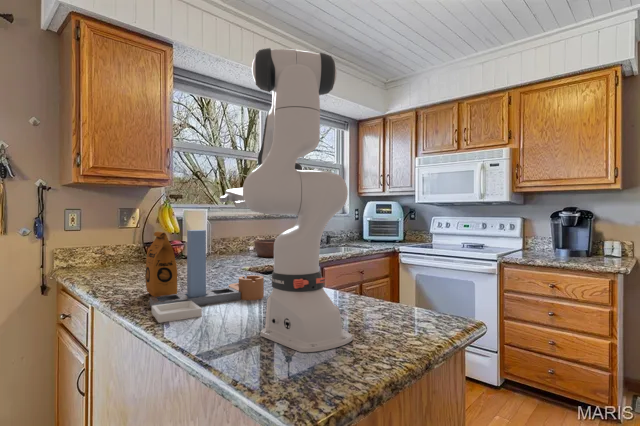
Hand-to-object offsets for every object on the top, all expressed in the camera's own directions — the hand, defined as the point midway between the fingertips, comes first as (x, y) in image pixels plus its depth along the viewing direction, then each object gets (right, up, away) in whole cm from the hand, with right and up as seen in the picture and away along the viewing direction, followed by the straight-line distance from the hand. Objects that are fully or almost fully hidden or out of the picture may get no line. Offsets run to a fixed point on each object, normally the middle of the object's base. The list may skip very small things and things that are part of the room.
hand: (227, 202), depth 118 cm
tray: (-10, -32, -16) cm, 37 cm away
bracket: (+4, -32, +9) cm, 34 cm away
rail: (-9, -32, -2) cm, 33 cm away
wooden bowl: (-1, -32, +124) cm, 128 cm away
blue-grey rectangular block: (-9, -32, -2) cm, 33 cm away
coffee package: (-25, -32, +9) cm, 42 cm away
